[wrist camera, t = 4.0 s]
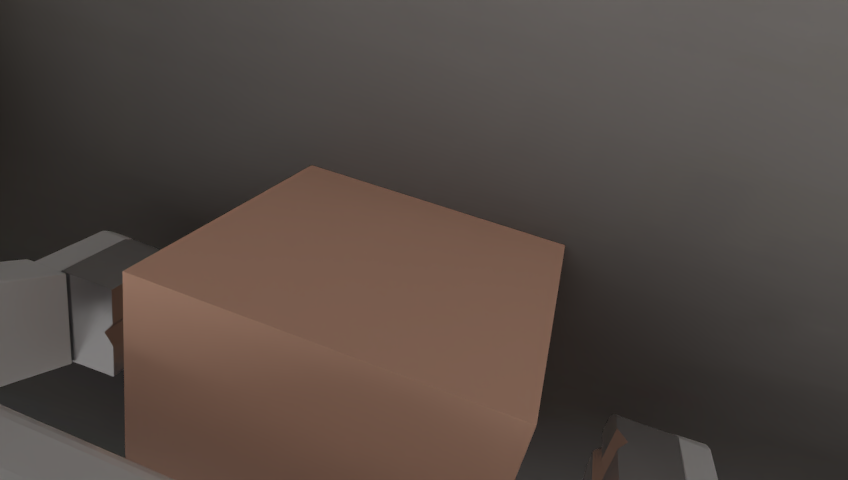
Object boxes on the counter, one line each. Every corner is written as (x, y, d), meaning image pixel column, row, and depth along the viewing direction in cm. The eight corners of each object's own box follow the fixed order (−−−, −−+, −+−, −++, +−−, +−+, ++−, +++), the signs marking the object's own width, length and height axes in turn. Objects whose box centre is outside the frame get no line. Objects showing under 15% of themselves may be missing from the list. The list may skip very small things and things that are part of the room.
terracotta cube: (492, 445, 12) (430, 689, 8) (285, 365, 13) (126, 547, 9) (565, 243, 10) (536, 424, 6) (313, 163, 11) (123, 271, 7)
